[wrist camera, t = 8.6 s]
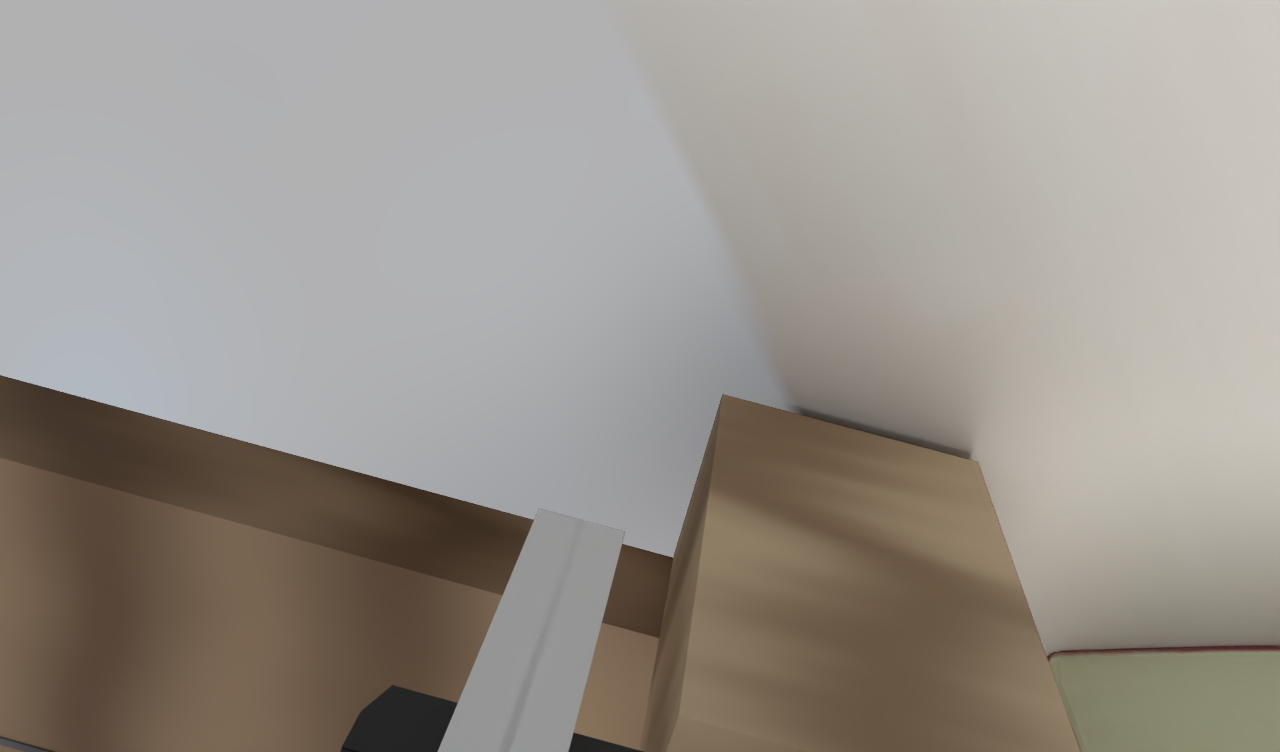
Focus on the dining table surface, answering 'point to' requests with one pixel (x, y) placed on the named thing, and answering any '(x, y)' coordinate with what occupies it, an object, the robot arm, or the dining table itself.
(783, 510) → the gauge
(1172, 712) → the gift box
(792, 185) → the dining table surface
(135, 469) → the board
